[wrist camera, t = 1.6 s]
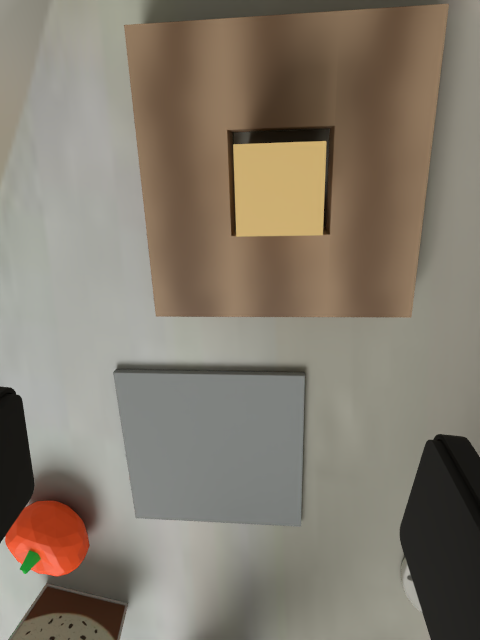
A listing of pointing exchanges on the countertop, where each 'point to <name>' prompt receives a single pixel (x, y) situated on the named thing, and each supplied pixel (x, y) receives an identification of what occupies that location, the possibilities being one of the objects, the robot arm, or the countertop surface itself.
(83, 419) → the countertop surface
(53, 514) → the pumpkin
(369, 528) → the countertop surface
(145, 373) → the grey mat
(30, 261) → the countertop surface
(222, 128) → the walnut cradle
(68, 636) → the food container
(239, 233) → the ochre block
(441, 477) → the robot arm
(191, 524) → the countertop surface
